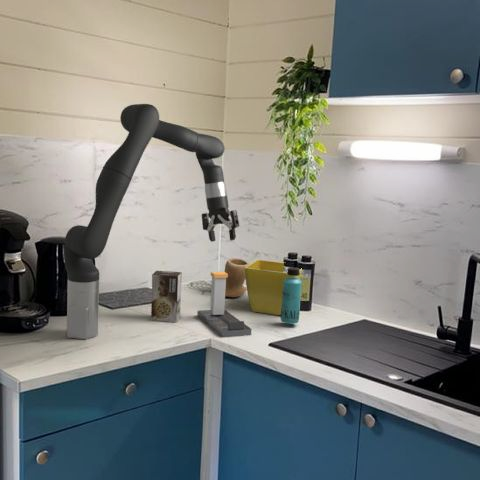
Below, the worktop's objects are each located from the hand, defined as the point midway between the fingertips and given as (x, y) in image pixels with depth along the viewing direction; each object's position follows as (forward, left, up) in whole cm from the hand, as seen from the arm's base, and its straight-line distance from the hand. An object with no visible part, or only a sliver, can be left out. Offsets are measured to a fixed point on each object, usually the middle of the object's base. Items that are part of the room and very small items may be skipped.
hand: (222, 240), depth 215 cm
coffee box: (-15, +16, -26) cm, 34 cm away
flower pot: (+9, -19, -26) cm, 33 cm away
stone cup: (+27, -2, -26) cm, 37 cm away
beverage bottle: (-9, -26, -26) cm, 38 cm away
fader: (-11, -1, -24) cm, 26 cm away
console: (-16, -4, -26) cm, 31 cm away
